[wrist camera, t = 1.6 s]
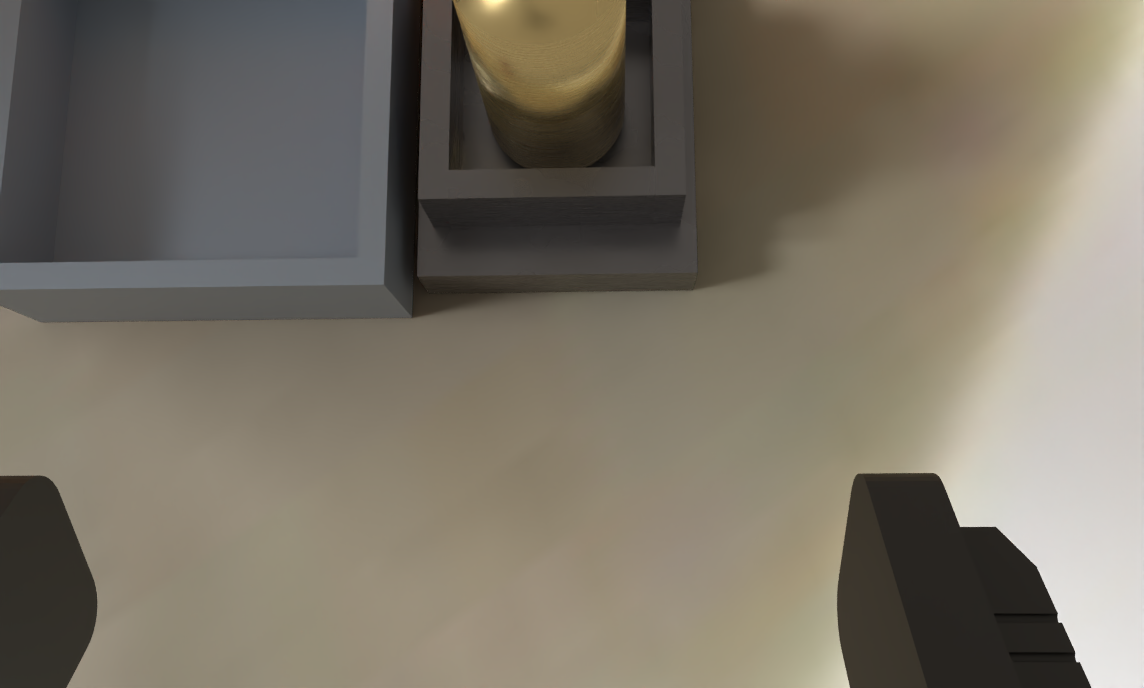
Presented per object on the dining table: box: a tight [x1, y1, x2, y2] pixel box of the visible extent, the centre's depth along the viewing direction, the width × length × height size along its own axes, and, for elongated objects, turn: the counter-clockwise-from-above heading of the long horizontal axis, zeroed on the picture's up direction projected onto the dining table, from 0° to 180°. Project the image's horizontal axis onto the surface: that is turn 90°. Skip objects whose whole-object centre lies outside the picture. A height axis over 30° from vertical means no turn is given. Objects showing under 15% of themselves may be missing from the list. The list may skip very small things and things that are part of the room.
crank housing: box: [417, 0, 698, 293], centre depth 31 cm, size 8×14×6 cm, turn 0°
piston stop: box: [453, 0, 626, 169], centre depth 27 cm, size 4×4×8 cm
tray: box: [0, 0, 421, 322], centre depth 32 cm, size 12×12×4 cm
